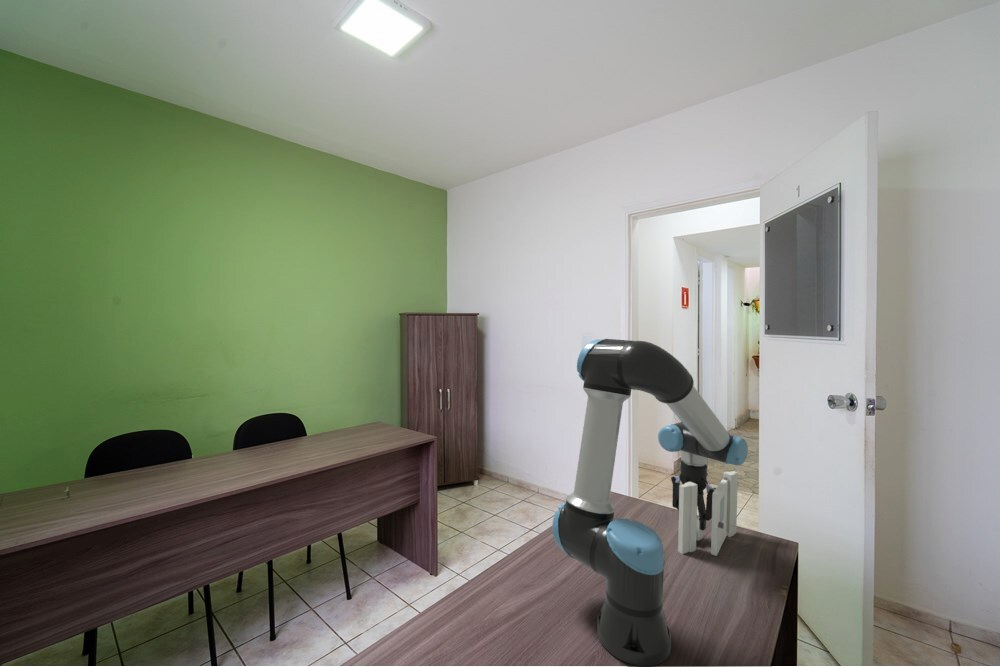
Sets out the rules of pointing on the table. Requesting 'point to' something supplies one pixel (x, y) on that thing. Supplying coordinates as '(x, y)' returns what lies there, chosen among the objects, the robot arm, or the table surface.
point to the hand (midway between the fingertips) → (691, 535)
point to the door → (719, 517)
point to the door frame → (690, 512)
